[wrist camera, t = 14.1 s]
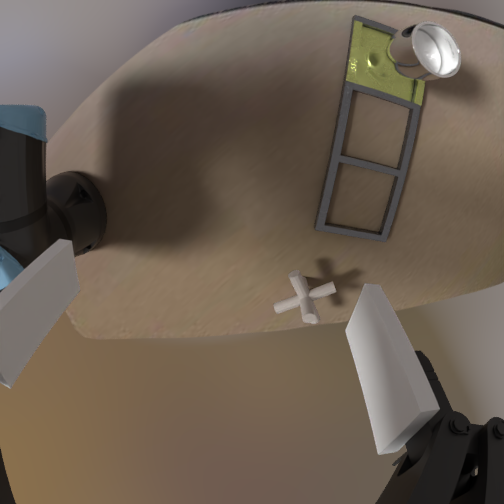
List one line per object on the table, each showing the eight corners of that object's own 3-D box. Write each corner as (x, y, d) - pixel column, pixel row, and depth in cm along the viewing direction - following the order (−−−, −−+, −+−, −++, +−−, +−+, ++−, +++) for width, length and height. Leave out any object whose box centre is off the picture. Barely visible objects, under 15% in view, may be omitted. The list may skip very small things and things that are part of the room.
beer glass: (367, 84, 35) (416, 76, 22) (360, 40, 32) (404, 14, 19) (408, 85, 34) (466, 83, 21) (401, 43, 31) (456, 25, 18)
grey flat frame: (313, 227, 46) (315, 230, 45) (352, 17, 30) (355, 14, 29) (383, 239, 46) (386, 242, 45) (425, 44, 31) (429, 43, 29)
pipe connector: (319, 245, 47) (331, 279, 38) (336, 291, 51) (349, 328, 43) (262, 268, 50) (262, 305, 41) (285, 311, 54) (288, 350, 45)
